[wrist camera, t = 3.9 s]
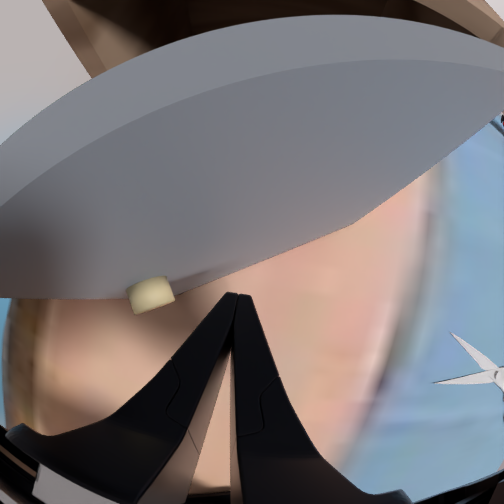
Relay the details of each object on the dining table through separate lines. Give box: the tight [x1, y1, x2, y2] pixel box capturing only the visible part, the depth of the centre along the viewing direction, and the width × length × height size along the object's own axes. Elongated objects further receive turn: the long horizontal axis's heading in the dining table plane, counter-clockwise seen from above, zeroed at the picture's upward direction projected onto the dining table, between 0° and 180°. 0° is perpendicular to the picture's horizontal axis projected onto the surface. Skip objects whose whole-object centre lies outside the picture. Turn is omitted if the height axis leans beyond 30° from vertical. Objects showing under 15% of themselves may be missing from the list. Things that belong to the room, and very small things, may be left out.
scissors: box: [436, 332, 504, 401], centre depth 15 cm, size 11×1×20 cm
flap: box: [0, 15, 504, 315], centre depth 9 cm, size 2×12×14 cm, turn 112°
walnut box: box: [42, 0, 504, 79], centre depth 10 cm, size 9×12×15 cm
